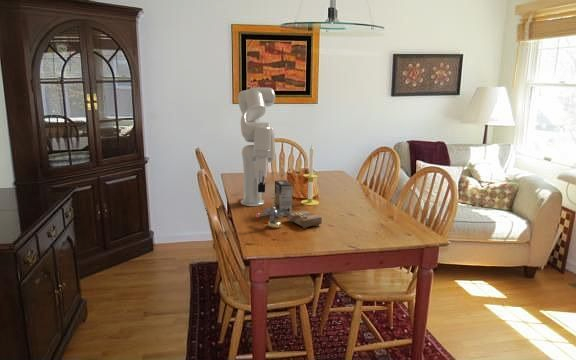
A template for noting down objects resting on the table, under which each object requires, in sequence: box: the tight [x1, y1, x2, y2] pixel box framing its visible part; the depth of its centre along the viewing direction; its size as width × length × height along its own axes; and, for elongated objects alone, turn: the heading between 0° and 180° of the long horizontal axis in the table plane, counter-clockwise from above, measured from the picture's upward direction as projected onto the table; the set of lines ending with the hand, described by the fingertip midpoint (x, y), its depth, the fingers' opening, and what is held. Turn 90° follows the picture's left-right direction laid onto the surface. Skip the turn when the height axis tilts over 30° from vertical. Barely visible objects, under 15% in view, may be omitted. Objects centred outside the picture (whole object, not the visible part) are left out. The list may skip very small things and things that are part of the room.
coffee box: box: [274, 179, 294, 217], centre depth 230 cm, size 9×6×16 cm
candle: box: [300, 144, 320, 206], centre depth 247 cm, size 10×10×32 cm
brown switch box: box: [286, 209, 323, 230], centre depth 216 cm, size 14×10×6 cm
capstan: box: [255, 205, 287, 229], centre depth 210 cm, size 16×15×9 cm
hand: (261, 191), depth 212 cm, fingers closed
